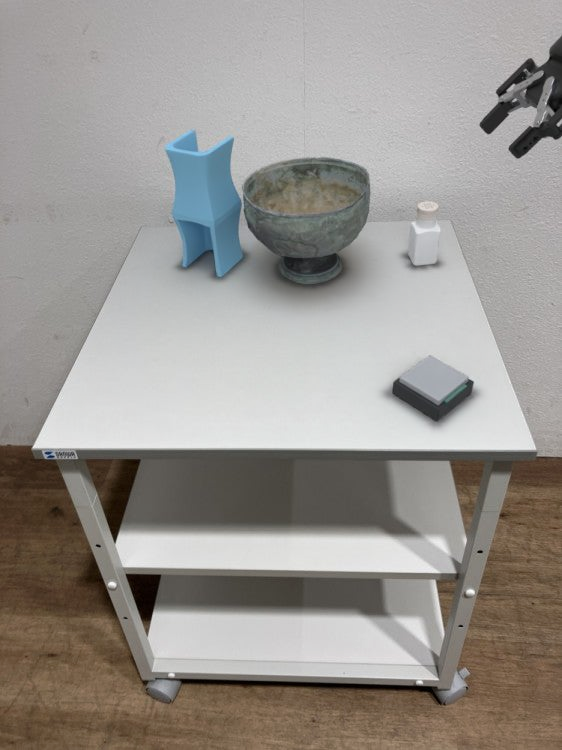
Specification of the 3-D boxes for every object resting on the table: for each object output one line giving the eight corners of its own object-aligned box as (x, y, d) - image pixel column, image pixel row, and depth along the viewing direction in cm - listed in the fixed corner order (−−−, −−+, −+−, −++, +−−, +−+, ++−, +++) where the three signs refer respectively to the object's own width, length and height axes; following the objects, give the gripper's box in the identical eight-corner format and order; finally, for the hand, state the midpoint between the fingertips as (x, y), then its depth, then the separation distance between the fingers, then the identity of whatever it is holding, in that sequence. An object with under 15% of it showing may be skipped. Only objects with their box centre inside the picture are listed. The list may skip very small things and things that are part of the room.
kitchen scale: (471, 393, 78) (475, 376, 76) (437, 421, 74) (439, 405, 73) (426, 367, 82) (429, 351, 80) (392, 393, 78) (393, 377, 77)
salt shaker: (413, 267, 100) (418, 213, 93) (406, 254, 103) (411, 201, 96) (437, 264, 100) (444, 210, 93) (430, 252, 103) (437, 198, 96)
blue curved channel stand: (246, 254, 105) (234, 136, 92) (221, 277, 100) (204, 156, 87) (208, 244, 108) (191, 129, 95) (182, 266, 103) (160, 148, 90)
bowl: (271, 231, 111) (265, 148, 101) (378, 244, 105) (383, 158, 95) (229, 292, 97) (217, 203, 87) (349, 311, 92) (352, 219, 82)
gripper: (554, 5, 81) (459, 106, 88) (621, 33, 71) (508, 145, 77) (580, 45, 86) (488, 138, 92) (646, 76, 75) (537, 179, 82)
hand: (497, 141), depth 85 cm, fingers open, 8 cm apart
